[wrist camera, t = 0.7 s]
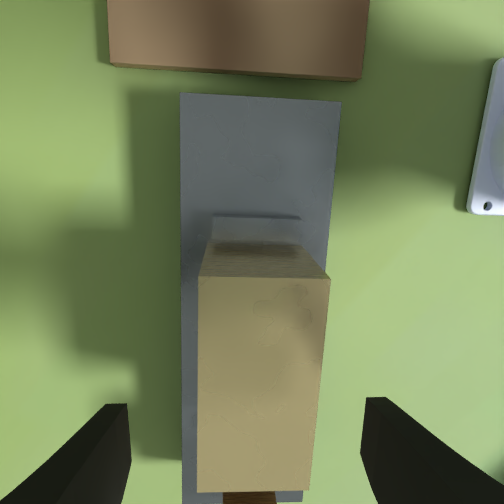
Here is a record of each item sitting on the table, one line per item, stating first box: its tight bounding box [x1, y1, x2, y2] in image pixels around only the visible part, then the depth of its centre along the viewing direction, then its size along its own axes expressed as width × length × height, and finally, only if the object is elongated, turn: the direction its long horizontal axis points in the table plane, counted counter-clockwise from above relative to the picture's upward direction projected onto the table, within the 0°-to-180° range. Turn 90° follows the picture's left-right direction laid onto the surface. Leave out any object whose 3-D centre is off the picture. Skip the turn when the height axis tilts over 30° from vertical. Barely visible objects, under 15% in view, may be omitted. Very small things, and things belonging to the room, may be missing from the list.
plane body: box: [180, 92, 342, 504], centre depth 17 cm, size 7×22×7 cm, turn 178°
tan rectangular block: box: [197, 243, 331, 493], centre depth 15 cm, size 4×9×5 cm, turn 177°
